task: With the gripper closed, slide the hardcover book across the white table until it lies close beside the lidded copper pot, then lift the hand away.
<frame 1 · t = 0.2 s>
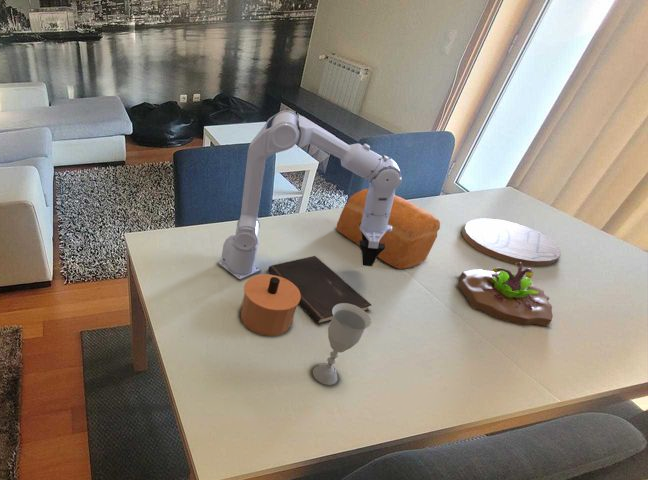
hand: (366, 257, 104), 10 cm above the table, tool pointing down, fingers open, 7 cm apart
bread: (377, 245, 128), on the table
pot lid: (271, 292, 96), point 8 cm above the table, touching pot
pot: (265, 318, 101), on the table
trivet: (507, 243, 128), on the table
chalice: (324, 375, 88), on the table
hardcover book: (314, 291, 110), on the table
plant: (501, 299, 107), on the table
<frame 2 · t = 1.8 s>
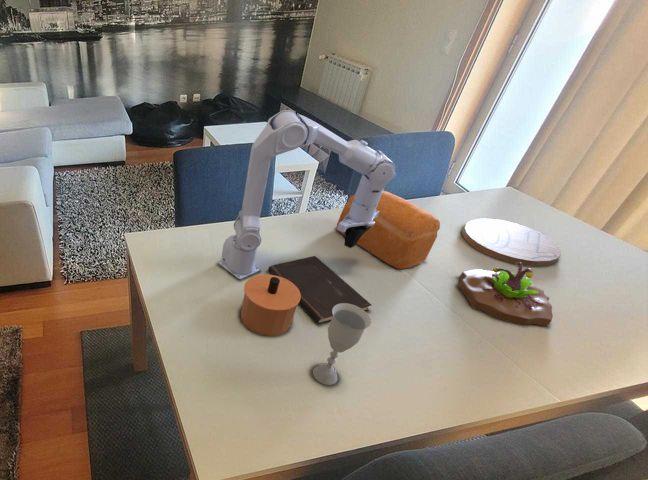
hand: (348, 245, 111), 9 cm above the table, tool pointing down, fingers closed
nothing on the table moved.
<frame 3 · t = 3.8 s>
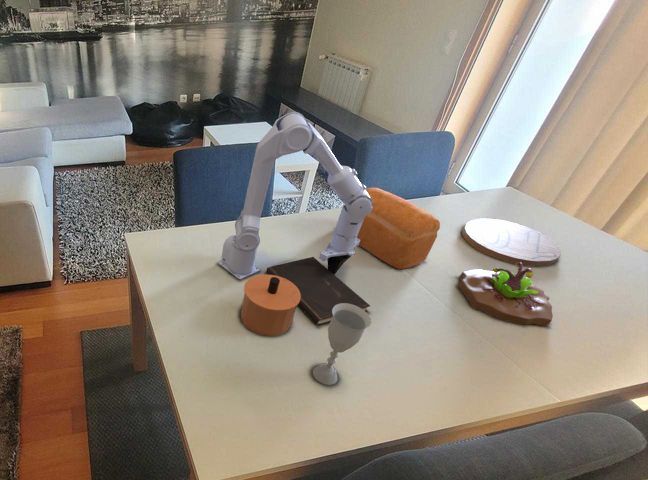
hand: (331, 272, 114), 1 cm above the table, tool pointing down, fingers closed
hardcover book: (313, 292, 110), on the table, touching gripper
everything else where it was.
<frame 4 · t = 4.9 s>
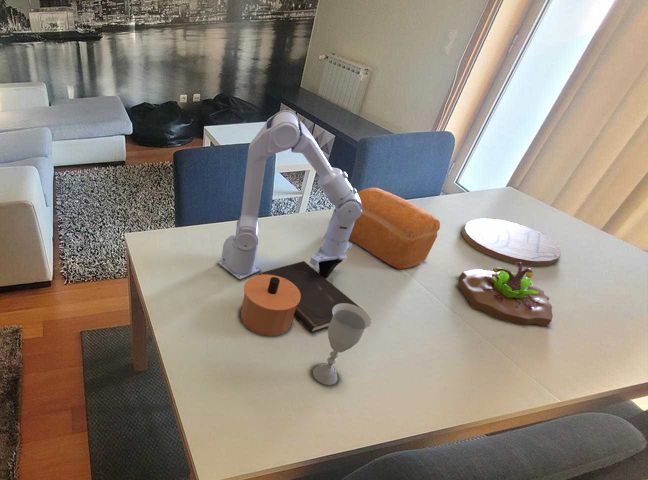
hand: (322, 277, 113), 1 cm above the table, tool pointing down, fingers closed
hardcover book: (305, 297, 108), on the table, touching gripper
everything else where it was.
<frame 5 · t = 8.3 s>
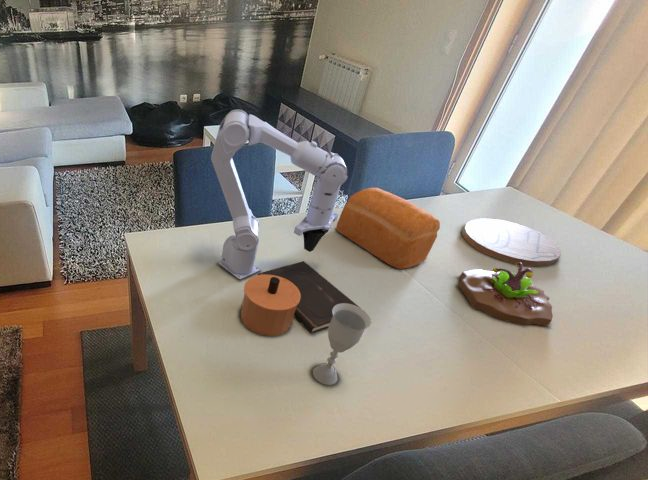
hand: (308, 249, 109), 9 cm above the table, tool pointing down, fingers closed
hardcover book: (305, 297, 108), on the table
everything else where it was.
at the end: hardcover book 15.1 cm from the pot (horizontally); hardcover book moved 4.5 cm from its start; hardcover book tilted 0° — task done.
